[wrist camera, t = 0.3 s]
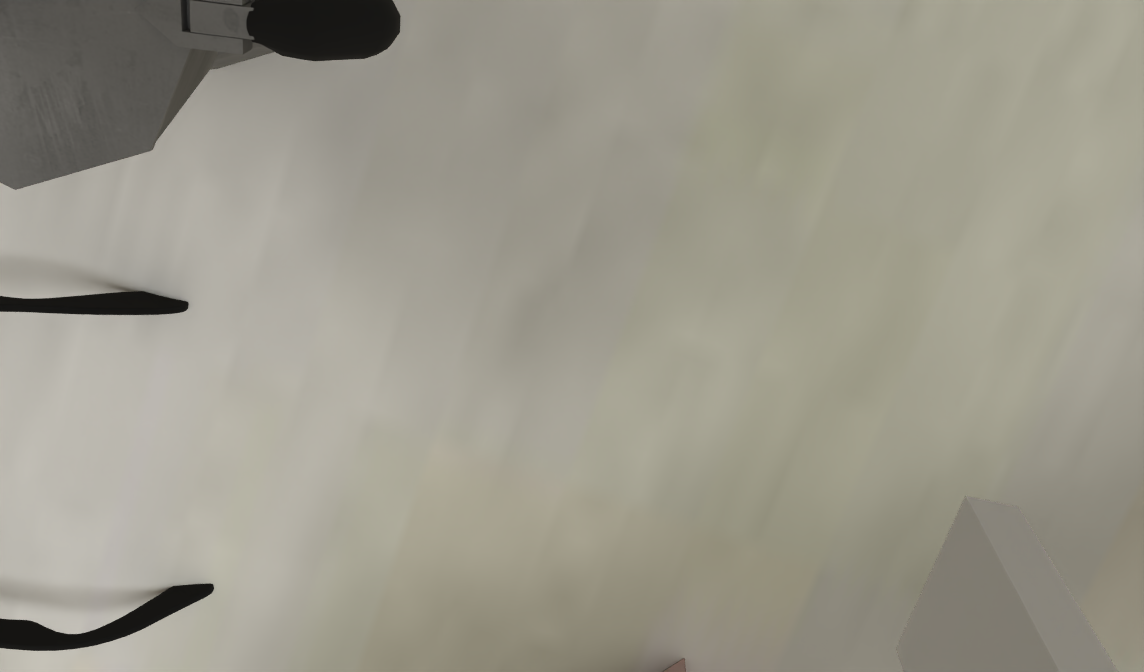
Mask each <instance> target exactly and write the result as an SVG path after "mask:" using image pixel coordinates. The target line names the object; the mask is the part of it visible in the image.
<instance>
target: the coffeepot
mask: <svg viewBox="0 0 1144 672" xmlns="http://www.w3.org/2000/svg"><path fill="white" fill-rule="evenodd" d="M399 32H400V14H399V12H398V10H397V8H396V6H395V4H394V2H393V1H392V0H0V182H1V183H3V184H5V185H7V186H9V187H11V188H13V189H15V190H16V189H20V188H23V187H26V186H30V185H33V184H37V183H40V182H44V181H47V180H51V179H54V178H58V177H61V176H65V175H68V174H72V173H75V172H79V171H82V170H86V169H89V168H93V167H96V166H99V165H103V164H106V163H110V162H113V161H117V160H120V159H124V158H127V157H131V156H134V155H138V154H141V153H145V152H148V151H151V150H152V149H153V148H154V145H155V143H156V141H157V140H158V138H159V137H160V136H161V134H162V133H163V132H164V130H165V129H166V128H167V126H168V125H169V123H170V122H171V121H172V119H173V118H174V117H175V115H176V114H177V113H178V111H179V110H180V109H181V107H182V106H183V105H184V103H185V102H186V101H187V99H188V98H189V97H190V95H191V94H192V93H193V91H194V90H195V89H196V87H197V86H198V85H199V83H200V82H201V81H202V79H203V78H204V77H205V75H206V74H207V73H208V71H209V70H210V69H218V68H221V67H225V66H228V65H231V64H235V63H238V62H241V61H245V60H248V59H252V58H255V57H258V56H262V55H265V54H268V53H272V52H276V53H278V54H280V55H282V56H287V57H292V58H297V59H304V60H311V61H325V60H345V59H365V58H368V57H371V56H374V55H377V54H379V53H381V52H382V51H384V50H386V49H387V48H388V47H389V46H390V45H391V44H392V43H393V41H394V40H395V38H396V37H397V35H398V34H399Z"/></svg>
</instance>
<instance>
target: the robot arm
mask: <svg viewBox="0 0 1144 672" xmlns="http://www.w3.org/2000/svg"><path fill="white" fill-rule="evenodd" d="M896 651H897V654H898V657H899V659H900V662H901V665H902V668H903V671H904V672H1118V670H1117V669H1116V667H1115V665H1114V664H1113V662H1112V660H1111V659H1110V657H1109V655H1108V654H1107V652H1106V650H1105V649H1104V647H1103V645H1102V644H1101V642H1100V640H1099V639H1098V637H1097V635H1096V634H1095V632H1094V630H1093V629H1092V627H1091V625H1090V624H1089V622H1088V621H1087V619H1086V617H1085V616H1084V614H1083V612H1082V611H1081V609H1080V607H1079V606H1078V604H1077V602H1076V601H1075V599H1074V597H1073V596H1072V594H1071V592H1070V591H1069V589H1068V587H1067V586H1066V584H1065V582H1064V581H1063V579H1062V577H1061V576H1060V574H1059V572H1058V571H1057V569H1056V567H1055V566H1054V564H1053V563H1052V561H1051V559H1050V558H1049V556H1048V554H1047V553H1046V551H1045V549H1044V548H1043V546H1042V544H1041V543H1040V541H1039V539H1038V538H1037V536H1036V534H1035V533H1034V531H1033V529H1032V528H1031V526H1030V524H1029V523H1028V521H1027V519H1026V518H1025V516H1024V514H1023V513H1022V511H1021V509H1020V508H1019V507H1017V506H1013V505H1008V504H1003V503H998V502H993V501H989V500H984V499H979V498H974V497H970V496H965V498H964V500H963V502H962V504H961V507H960V509H959V511H958V513H957V515H956V518H955V520H954V522H953V524H952V526H951V528H950V531H949V533H948V535H947V537H946V539H945V542H944V544H943V546H942V548H941V550H940V553H939V555H938V557H937V559H936V561H935V564H934V566H933V568H932V570H931V572H930V574H929V577H928V579H927V581H926V583H925V585H924V588H923V590H922V592H921V594H920V596H919V599H918V601H917V603H916V605H915V607H914V610H913V612H912V614H911V616H910V618H909V620H908V623H907V625H906V627H905V629H904V631H903V634H902V636H901V638H900V640H899V642H898V645H897V647H896Z"/></svg>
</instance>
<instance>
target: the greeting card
mask: <svg viewBox="0 0 1144 672" xmlns="http://www.w3.org/2000/svg"><path fill="white" fill-rule="evenodd" d="M663 672H686V668H685V659H682V660H681V661H679V662H677V663H676V664H674V665H673V666H671V667H670V668H668V669H666V670H665V671H663Z"/></svg>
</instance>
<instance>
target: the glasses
mask: <svg viewBox="0 0 1144 672" xmlns="http://www.w3.org/2000/svg"><path fill="white" fill-rule="evenodd" d="M187 309H188V302H186V301H181V300H176V299H171V298H167V297H163V296H158V295H155V294H151V293H147V292H142V291H141V292H118V293H106V294H94V295H83V296H71V297H59V298H44V299H22V298H11V297H4V296H0V312H38V313H62V314H93V315H159V314H173V313H180V312H184V311H186V310H187ZM213 590H214V587H213V584H193V585H181V586H173V587H171V588H169V589H168V590H166V591H165V592H163V593H161V594H160V595H158V596H156V597H155V598H153V599H152V600H150V601H148V602H147V603H145V604H143V605H142V606H140V607H139V608H137V609H135V610H134V611H132V612H130V613H128V614H127V615H125V616H123V617H121V618H119V619H117V620H115V621H113V622H111V623H109V624H107V625H105V626H103V627H100V628H98V629H96V630H93V631H90V632H86V633H82V634H64V633H60V632H56V631H53V630H51V629H49V628H46V627H44V626H42V625H40V624H38V623H36V622H33V621H28V620H8V619H0V648H6V649H18V650H31V651H57V650H67V649H77V648H83V647H89V646H94V645H98V644H102V643H106V642H110V641H113V640H116V639H119V638H122V637H125V636H128V635H130V634H132V633H135V632H137V631H140V630H142V629H144V628H146V627H148V626H149V625H151V624H153V623H155V622H157V621H159V620H161V619H163V618H165V617H167V616H169V615H171V614H173V613H175V612H177V611H179V610H181V609H183V608H185V607H187V606H189V605H191V604H193V603H195V602H197V601H199V600H201V599H203V598H205V597H206V596H208V595H210V594H211V593H212V592H213Z"/></svg>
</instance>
